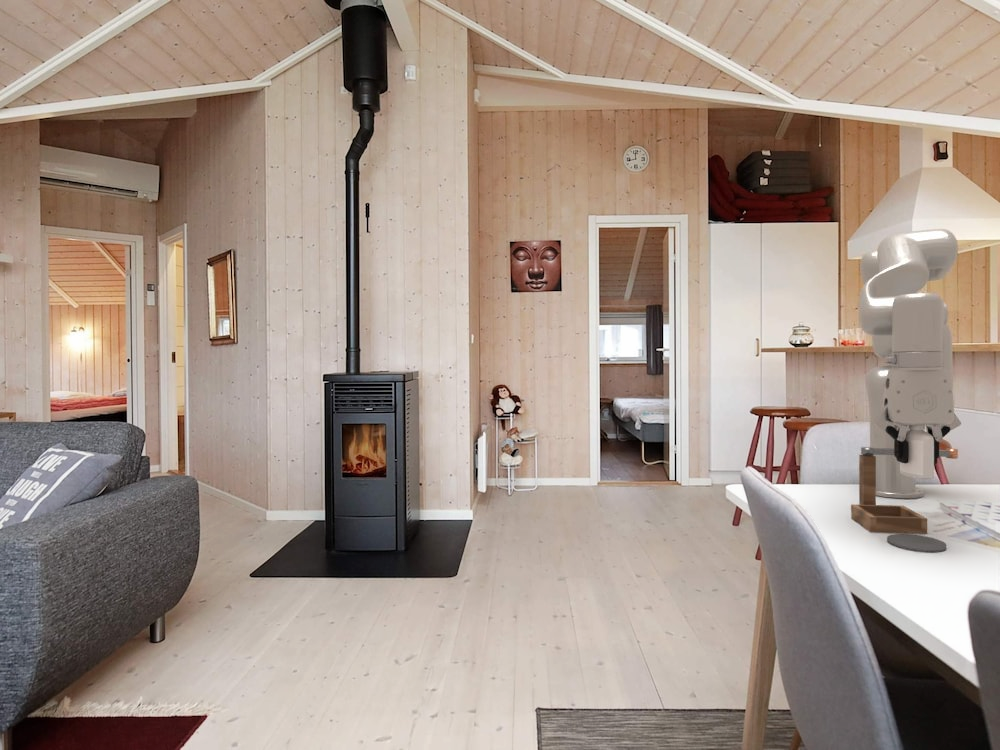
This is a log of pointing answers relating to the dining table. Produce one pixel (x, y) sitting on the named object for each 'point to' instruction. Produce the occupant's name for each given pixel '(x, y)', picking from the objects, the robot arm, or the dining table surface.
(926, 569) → the dining table surface
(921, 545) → the mat
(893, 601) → the dining table surface
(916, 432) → the eye dropper bottle
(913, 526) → the wooden frame with post
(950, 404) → the robot arm
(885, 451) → the ball-tipped grey rod
